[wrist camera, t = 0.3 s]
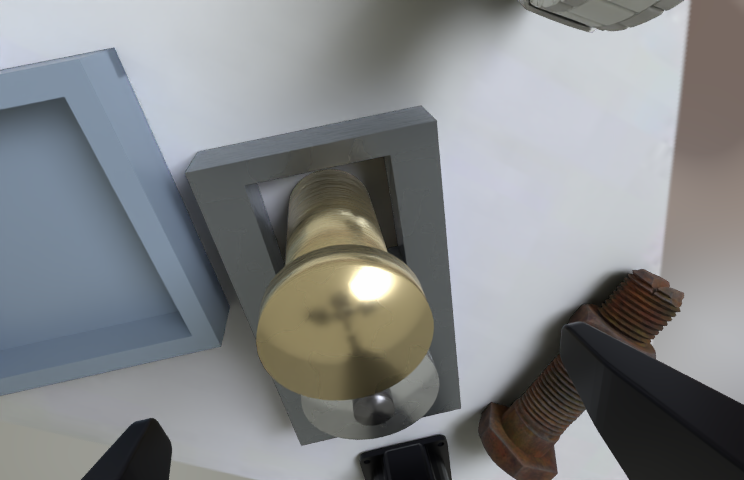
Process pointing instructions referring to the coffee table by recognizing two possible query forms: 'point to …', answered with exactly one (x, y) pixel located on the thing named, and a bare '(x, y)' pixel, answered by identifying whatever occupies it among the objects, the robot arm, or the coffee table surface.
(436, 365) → the block
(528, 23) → the coffee table surface
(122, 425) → the coffee table surface
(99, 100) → the tray
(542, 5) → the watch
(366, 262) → the pin
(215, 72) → the coffee table surface
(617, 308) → the bolt
